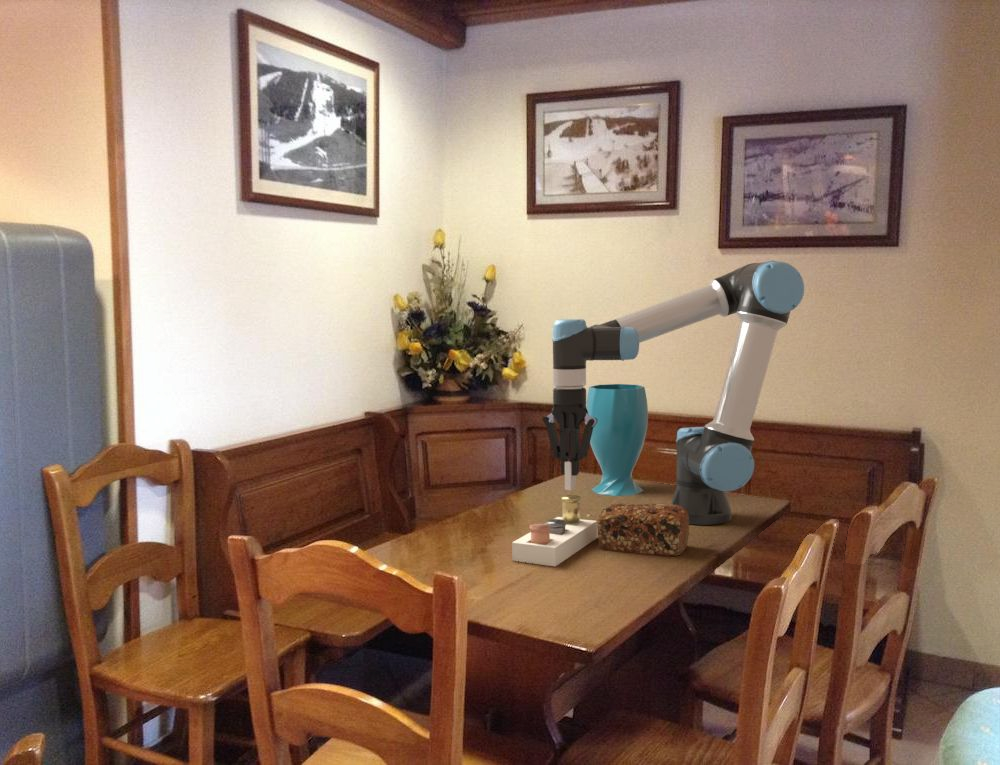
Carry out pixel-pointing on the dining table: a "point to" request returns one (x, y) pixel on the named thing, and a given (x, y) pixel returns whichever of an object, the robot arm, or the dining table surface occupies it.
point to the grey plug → (556, 526)
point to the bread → (644, 528)
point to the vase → (617, 434)
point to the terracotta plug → (540, 533)
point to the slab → (555, 544)
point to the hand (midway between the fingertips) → (570, 488)
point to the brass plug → (571, 508)
